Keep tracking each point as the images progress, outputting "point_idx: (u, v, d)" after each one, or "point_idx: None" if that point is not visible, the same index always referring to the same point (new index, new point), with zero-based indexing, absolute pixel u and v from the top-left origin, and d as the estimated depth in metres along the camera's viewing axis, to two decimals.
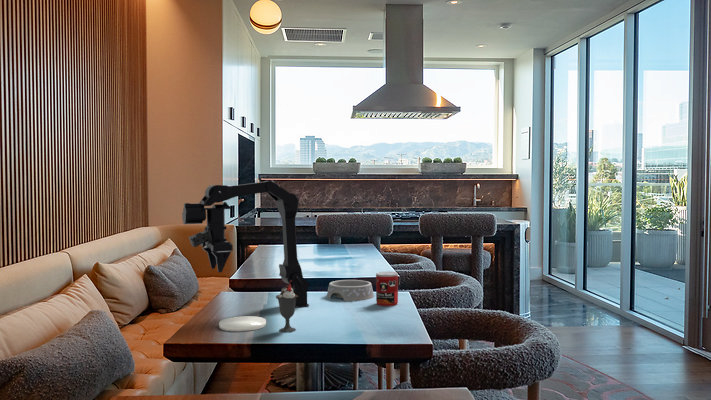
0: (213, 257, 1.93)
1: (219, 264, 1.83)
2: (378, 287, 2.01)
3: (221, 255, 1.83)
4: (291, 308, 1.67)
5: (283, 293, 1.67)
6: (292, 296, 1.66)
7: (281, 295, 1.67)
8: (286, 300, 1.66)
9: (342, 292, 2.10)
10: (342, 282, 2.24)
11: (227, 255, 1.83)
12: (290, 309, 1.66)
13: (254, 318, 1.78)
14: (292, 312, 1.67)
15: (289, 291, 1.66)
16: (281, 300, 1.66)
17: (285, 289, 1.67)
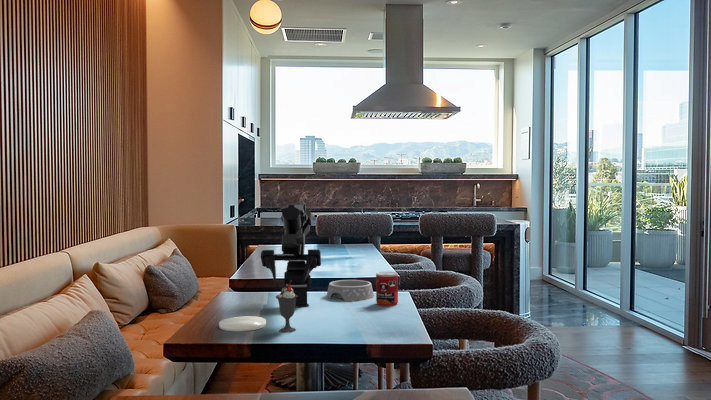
0: (275, 270, 1.79)
1: (307, 271, 1.78)
2: (378, 287, 2.01)
3: None
4: (291, 308, 1.67)
5: (283, 293, 1.67)
6: (292, 296, 1.66)
7: (281, 295, 1.67)
8: (286, 300, 1.66)
9: (342, 292, 2.10)
10: (342, 282, 2.25)
11: (311, 268, 1.81)
12: (290, 309, 1.66)
13: (254, 318, 1.78)
14: (292, 312, 1.67)
15: (289, 291, 1.66)
16: (281, 300, 1.66)
17: (285, 289, 1.67)
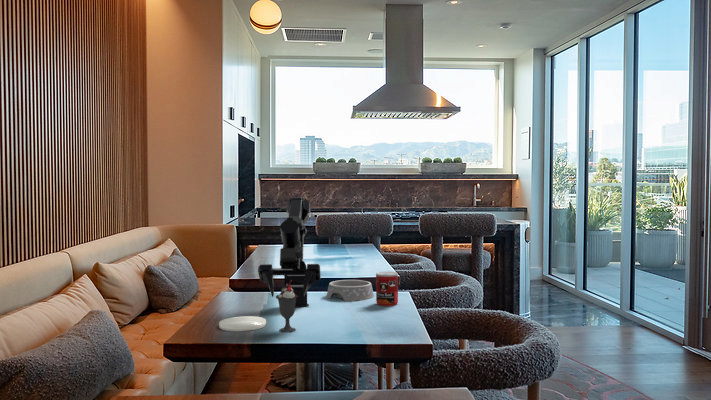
0: None
1: (306, 287, 1.71)
2: (378, 287, 2.01)
3: None
4: (291, 308, 1.67)
5: (283, 293, 1.67)
6: (292, 296, 1.66)
7: (281, 295, 1.67)
8: (286, 300, 1.66)
9: (342, 292, 2.10)
10: (342, 282, 2.25)
11: (310, 284, 1.75)
12: (290, 309, 1.66)
13: (254, 318, 1.78)
14: (292, 312, 1.67)
15: (289, 291, 1.66)
16: (281, 300, 1.66)
17: (285, 289, 1.67)
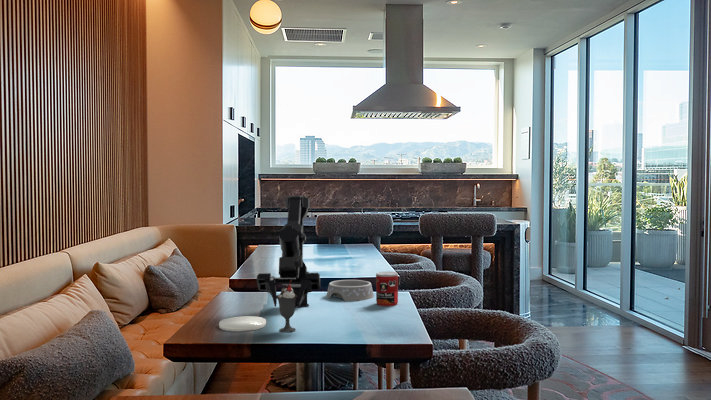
0: None
1: (301, 296, 1.68)
2: (378, 287, 2.01)
3: None
4: (291, 308, 1.67)
5: (283, 293, 1.67)
6: (292, 296, 1.66)
7: (281, 295, 1.67)
8: (286, 300, 1.66)
9: (342, 292, 2.10)
10: (341, 282, 2.25)
11: (306, 293, 1.72)
12: (290, 309, 1.66)
13: (254, 318, 1.78)
14: (292, 312, 1.67)
15: (289, 291, 1.66)
16: (281, 300, 1.66)
17: (285, 289, 1.67)
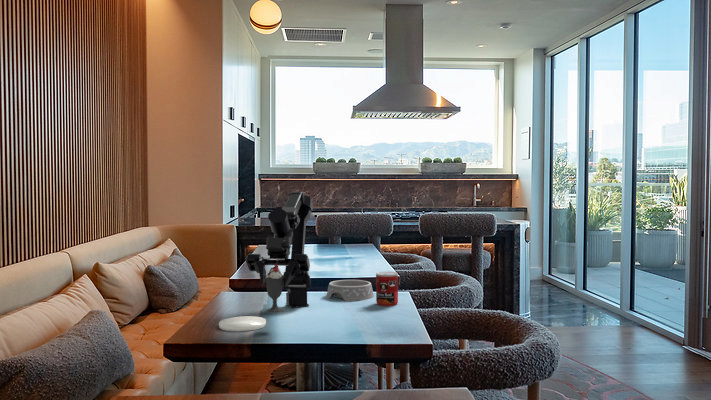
0: (264, 275, 1.71)
1: (288, 277, 1.69)
2: (378, 287, 2.01)
3: (291, 270, 1.71)
4: (277, 288, 1.67)
5: (270, 273, 1.67)
6: (278, 276, 1.67)
7: (268, 275, 1.68)
8: (272, 280, 1.66)
9: (342, 292, 2.10)
10: (341, 282, 2.25)
11: (294, 274, 1.72)
12: (276, 289, 1.67)
13: (254, 318, 1.78)
14: (279, 292, 1.68)
15: (275, 271, 1.67)
16: (267, 280, 1.67)
17: (272, 269, 1.68)
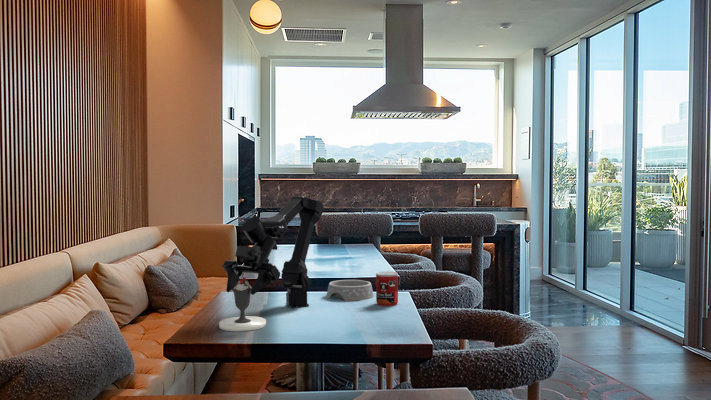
0: (232, 281, 1.77)
1: (257, 285, 1.72)
2: (378, 287, 2.01)
3: (263, 279, 1.74)
4: (242, 300, 1.72)
5: (236, 285, 1.73)
6: (242, 289, 1.72)
7: (235, 287, 1.74)
8: (236, 292, 1.72)
9: (342, 292, 2.11)
10: (341, 282, 2.25)
11: (267, 283, 1.75)
12: (241, 301, 1.72)
13: (254, 318, 1.78)
14: (244, 304, 1.73)
15: (240, 284, 1.72)
16: (233, 291, 1.73)
17: (239, 281, 1.74)
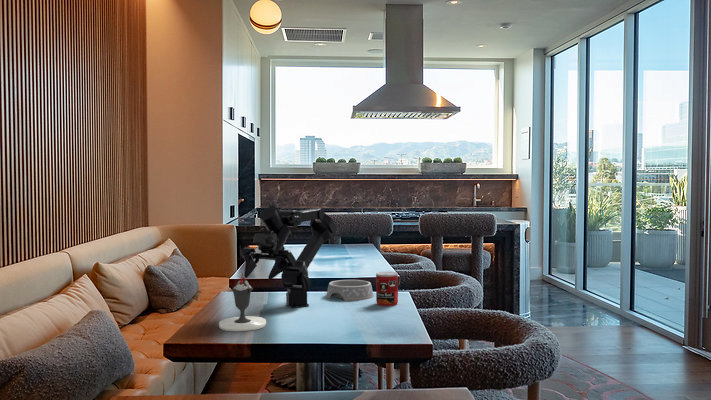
0: (250, 267, 1.85)
1: (274, 271, 1.80)
2: (378, 287, 2.01)
3: (279, 265, 1.82)
4: (242, 300, 1.72)
5: (236, 285, 1.73)
6: (242, 289, 1.72)
7: (235, 287, 1.74)
8: (236, 292, 1.72)
9: (342, 292, 2.11)
10: (341, 282, 2.25)
11: (283, 269, 1.83)
12: (241, 301, 1.72)
13: (254, 318, 1.78)
14: (244, 304, 1.73)
15: (240, 284, 1.72)
16: (233, 292, 1.73)
17: (238, 281, 1.74)
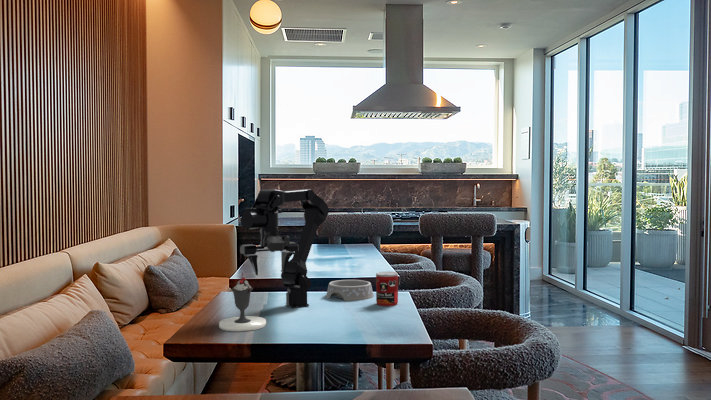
0: None
1: None
2: (378, 287, 2.01)
3: None
4: (242, 300, 1.72)
5: (236, 285, 1.73)
6: (242, 289, 1.72)
7: (235, 287, 1.74)
8: (236, 292, 1.72)
9: (342, 292, 2.11)
10: (341, 282, 2.25)
11: None
12: (241, 301, 1.72)
13: (254, 318, 1.78)
14: (243, 304, 1.73)
15: (240, 284, 1.72)
16: (233, 292, 1.73)
17: (238, 281, 1.74)
